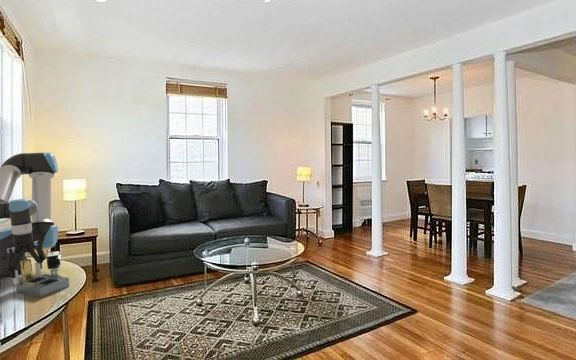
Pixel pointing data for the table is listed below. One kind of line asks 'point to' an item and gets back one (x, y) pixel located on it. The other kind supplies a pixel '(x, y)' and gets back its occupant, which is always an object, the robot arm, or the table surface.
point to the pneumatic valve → (54, 262)
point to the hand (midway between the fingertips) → (27, 280)
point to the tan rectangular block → (26, 269)
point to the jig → (42, 285)
